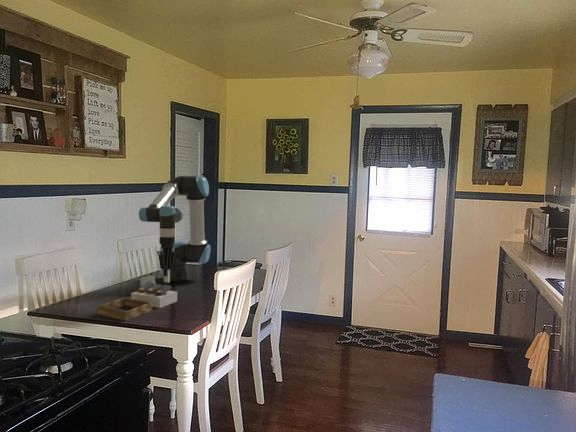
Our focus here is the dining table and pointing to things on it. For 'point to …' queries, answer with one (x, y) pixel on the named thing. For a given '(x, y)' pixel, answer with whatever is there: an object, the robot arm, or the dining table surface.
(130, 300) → the tray
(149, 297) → the switch unit
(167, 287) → the rocker
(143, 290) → the rocker
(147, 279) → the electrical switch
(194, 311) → the dining table surface
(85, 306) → the dining table surface
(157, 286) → the rocker
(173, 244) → the robot arm
